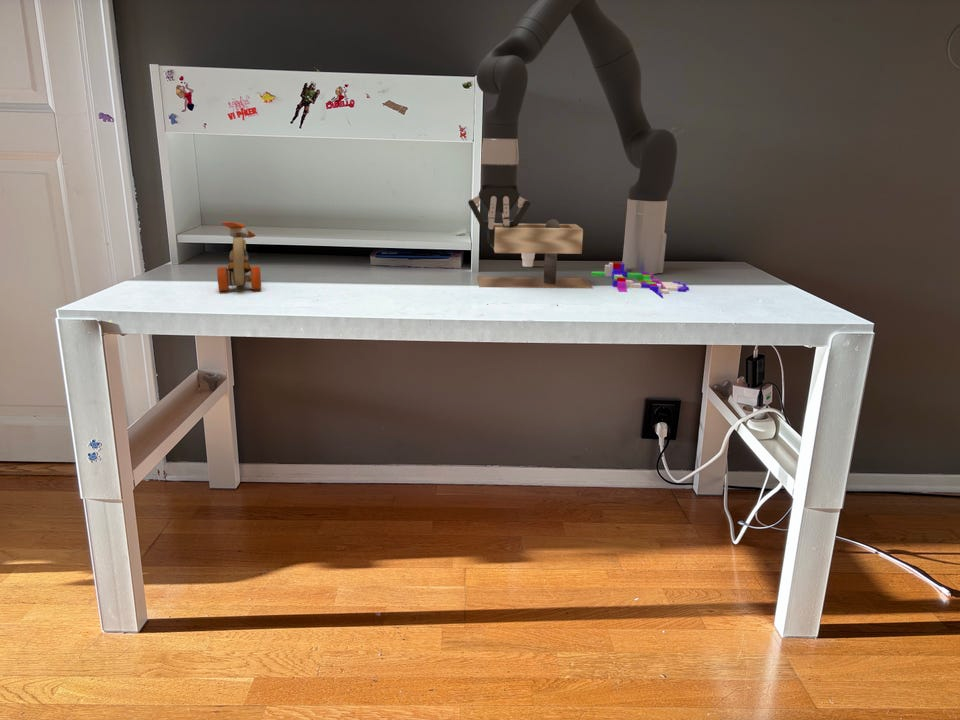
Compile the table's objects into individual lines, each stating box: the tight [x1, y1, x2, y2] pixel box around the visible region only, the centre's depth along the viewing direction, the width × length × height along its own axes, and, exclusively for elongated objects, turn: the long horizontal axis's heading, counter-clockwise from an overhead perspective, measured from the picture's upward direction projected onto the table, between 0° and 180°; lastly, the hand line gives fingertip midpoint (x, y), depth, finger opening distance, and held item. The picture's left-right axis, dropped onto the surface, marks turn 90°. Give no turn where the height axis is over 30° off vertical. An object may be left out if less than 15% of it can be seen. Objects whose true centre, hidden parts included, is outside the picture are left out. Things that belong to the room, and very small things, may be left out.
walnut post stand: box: [476, 219, 595, 290], centre depth 150 cm, size 24×11×14 cm, turn 93°
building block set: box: [590, 262, 690, 299], centre depth 156 cm, size 25×20×4 cm
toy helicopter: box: [216, 221, 262, 292], centre depth 147 cm, size 8×21×14 cm, turn 17°
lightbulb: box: [520, 253, 536, 268], centre depth 169 cm, size 6×6×11 cm
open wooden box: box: [492, 222, 584, 255], centre depth 149 cm, size 18×9×5 cm, turn 93°
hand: (498, 246), depth 149 cm, fingers closed on open wooden box
